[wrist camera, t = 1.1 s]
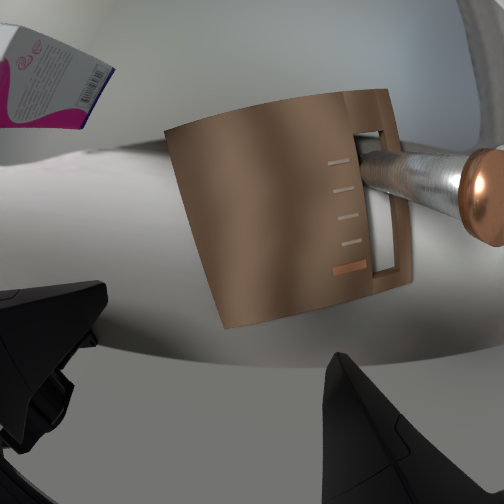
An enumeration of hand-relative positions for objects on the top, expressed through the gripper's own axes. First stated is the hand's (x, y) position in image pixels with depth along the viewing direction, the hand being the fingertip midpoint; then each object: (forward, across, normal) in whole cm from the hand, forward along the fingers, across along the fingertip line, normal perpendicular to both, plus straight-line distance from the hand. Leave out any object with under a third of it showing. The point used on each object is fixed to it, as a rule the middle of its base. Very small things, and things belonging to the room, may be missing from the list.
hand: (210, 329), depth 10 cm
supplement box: (+11, -17, +9) cm, 22 cm away
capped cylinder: (+14, +7, +5) cm, 17 cm away
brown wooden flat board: (+13, +2, +1) cm, 13 cm away
